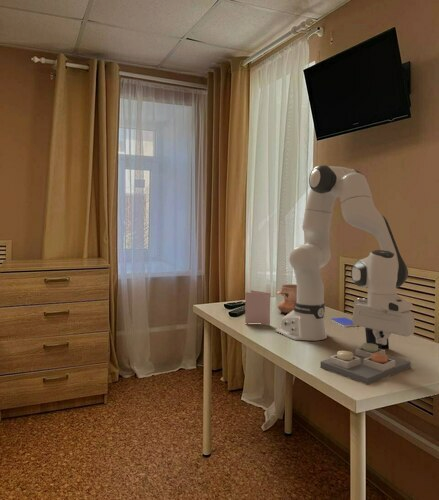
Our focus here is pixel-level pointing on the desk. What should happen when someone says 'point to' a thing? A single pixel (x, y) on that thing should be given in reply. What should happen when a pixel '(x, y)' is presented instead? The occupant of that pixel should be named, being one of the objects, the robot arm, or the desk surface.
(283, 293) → the ceramic jug
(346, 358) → the sand button
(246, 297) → the greeting card
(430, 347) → the desk surface
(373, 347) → the sage button
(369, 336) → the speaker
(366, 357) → the button console
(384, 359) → the terracotta button
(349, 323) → the hard drive
